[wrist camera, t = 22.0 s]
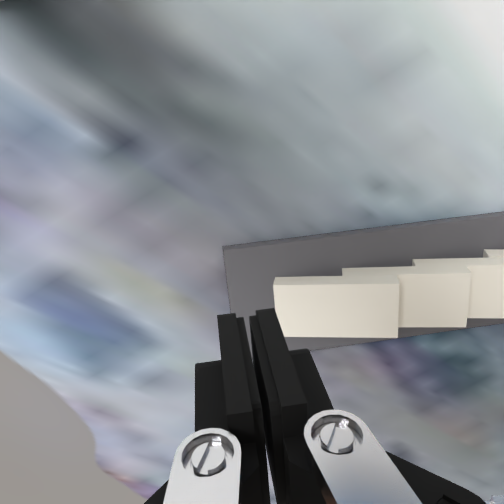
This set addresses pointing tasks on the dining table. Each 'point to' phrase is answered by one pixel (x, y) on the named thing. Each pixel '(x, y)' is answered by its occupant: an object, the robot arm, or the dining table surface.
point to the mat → (354, 264)
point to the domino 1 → (338, 306)
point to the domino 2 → (427, 293)
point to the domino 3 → (479, 283)
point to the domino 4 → (493, 253)
